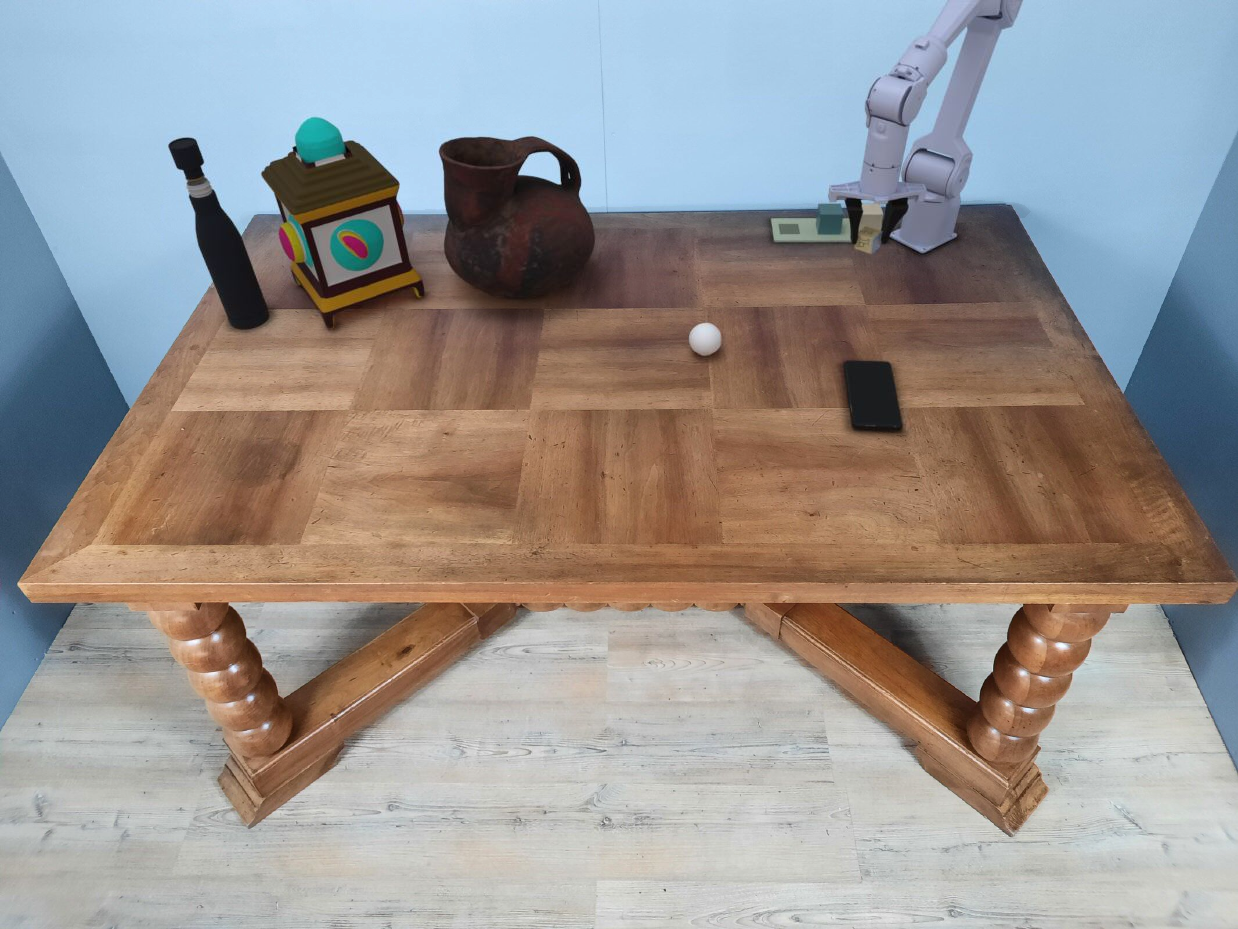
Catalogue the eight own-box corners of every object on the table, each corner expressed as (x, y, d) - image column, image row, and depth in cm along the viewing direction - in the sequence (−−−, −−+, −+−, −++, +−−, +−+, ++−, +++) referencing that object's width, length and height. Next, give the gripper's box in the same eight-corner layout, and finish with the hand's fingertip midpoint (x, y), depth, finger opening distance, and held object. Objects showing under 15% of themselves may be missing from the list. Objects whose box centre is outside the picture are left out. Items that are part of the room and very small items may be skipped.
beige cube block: (876, 223, 161) (879, 203, 159) (879, 234, 158) (883, 214, 156) (854, 223, 162) (857, 203, 159) (857, 234, 159) (860, 214, 156)
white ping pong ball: (724, 346, 137) (726, 319, 133) (715, 364, 133) (717, 338, 130) (693, 340, 138) (694, 314, 134) (684, 358, 135) (685, 332, 131)
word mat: (879, 219, 163) (879, 217, 163) (886, 242, 157) (887, 239, 157) (770, 220, 164) (771, 217, 164) (774, 242, 158) (774, 239, 158)
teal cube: (837, 223, 162) (840, 203, 159) (840, 234, 159) (843, 214, 156) (815, 223, 162) (818, 203, 159) (817, 234, 159) (820, 214, 156)
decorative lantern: (392, 248, 161) (353, 81, 140) (437, 298, 149) (401, 123, 128) (285, 283, 153) (227, 112, 132) (323, 338, 141) (265, 159, 120)
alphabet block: (870, 255, 141) (874, 238, 139) (853, 249, 143) (856, 232, 141) (880, 247, 143) (883, 230, 141) (863, 241, 144) (866, 224, 142)
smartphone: (852, 425, 121) (843, 359, 132) (851, 430, 122) (842, 364, 132) (903, 427, 120) (890, 360, 131) (902, 432, 121) (889, 365, 132)
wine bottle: (258, 331, 143) (190, 153, 122) (222, 327, 144) (149, 151, 123) (276, 308, 148) (214, 134, 127) (242, 305, 149) (174, 131, 128)
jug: (618, 300, 146) (613, 156, 129) (472, 337, 140) (446, 191, 123) (569, 231, 163) (558, 95, 146) (437, 261, 157) (409, 123, 140)
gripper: (838, 172, 130) (825, 253, 139) (937, 171, 129) (918, 253, 139) (831, 151, 135) (820, 231, 144) (927, 150, 134) (909, 230, 144)
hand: (867, 240), depth 142 cm, fingers closed on alphabet block, 4 cm apart
